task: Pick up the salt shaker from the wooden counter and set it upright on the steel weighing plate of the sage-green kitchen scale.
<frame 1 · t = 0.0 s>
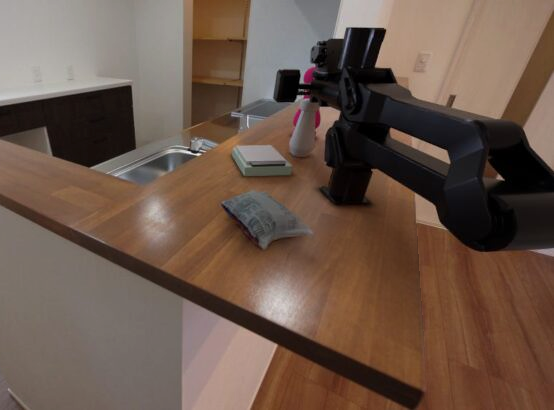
hand: (303, 80, 69), 17 cm above the table, tool horizontal, fingers open, 9 cm apart
scale: (259, 164, 68), on the table
salt shaker: (299, 155, 74), on the table
packaged food: (262, 229, 46), on the table
pepper mill: (303, 137, 87), on the table
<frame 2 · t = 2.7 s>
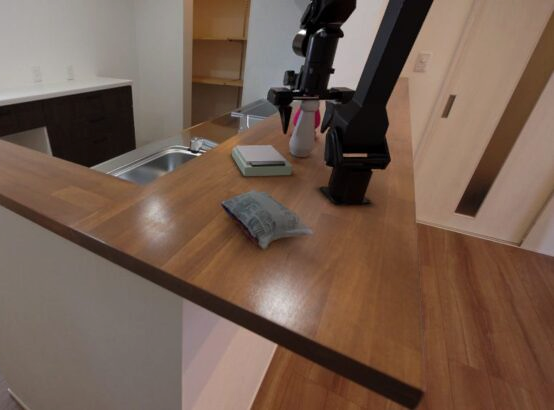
hand: (303, 133, 72), 5 cm above the table, tool pointing down
salt shaker: (299, 155, 74), on the table, touching gripper
everything else where it was.
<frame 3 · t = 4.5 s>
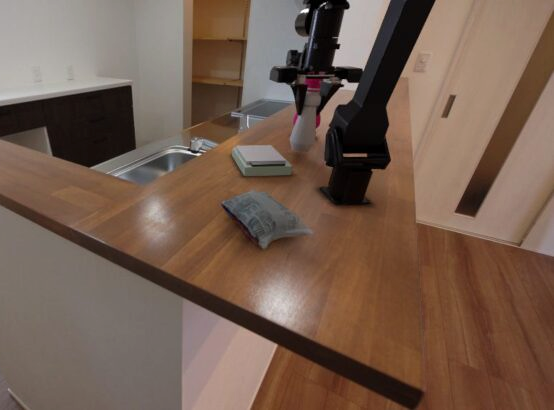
hand: (307, 115, 69), 10 cm above the table, tool pointing down, fingers closed on salt shaker, 4 cm apart
salt shaker: (300, 150, 73), point 1 cm above the table, touching gripper
everything else where it was.
when the fingers open (8 cm above the table, at t = 7.3 s): salt shaker stays where it is, resting on scale.
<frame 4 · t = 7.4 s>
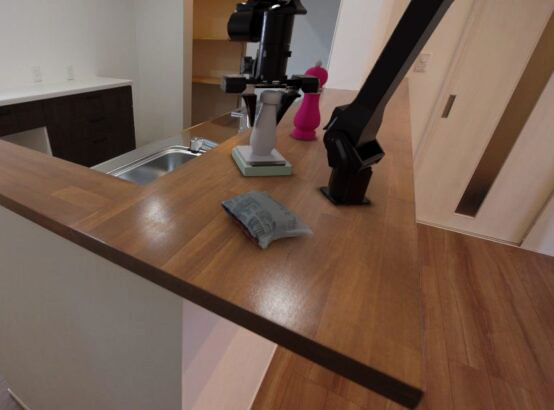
hand: (263, 126, 64), 8 cm above the table, tool pointing down, fingers open, 5 cm apart
salt shaker: (260, 153, 67), point 2 cm above the table, touching gripper, scale
everything else where it was.
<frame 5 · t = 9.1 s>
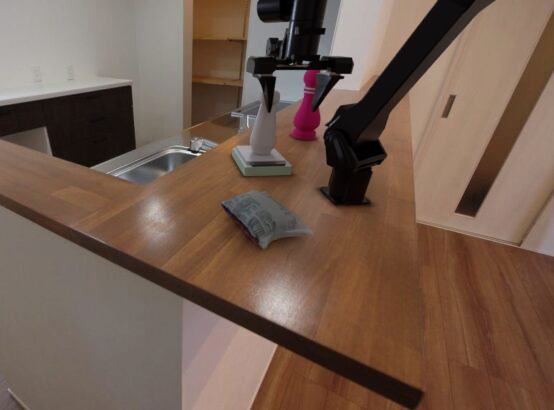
hand: (290, 112, 60), 12 cm above the table, tool pointing down, fingers open, 9 cm apart
nothing on the table moved.
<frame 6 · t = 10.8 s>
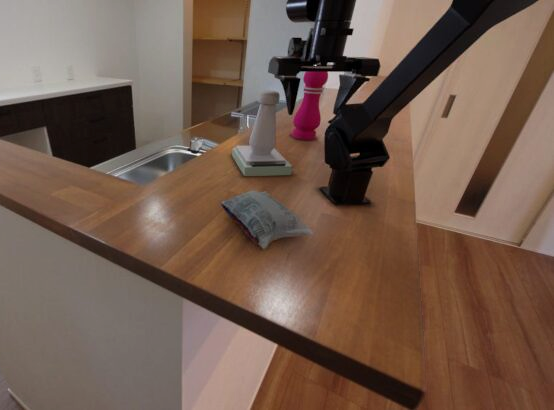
hand: (312, 114, 59), 12 cm above the table, tool pointing down, fingers open, 9 cm apart
salt shaker: (260, 153, 67), point 2 cm above the table, touching scale
everything else where it was.
at the end: salt shaker inside the target area on the scale (0.3 cm from its centre), point 2.4 cm above the scale's base; salt shaker tilted 0° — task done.
